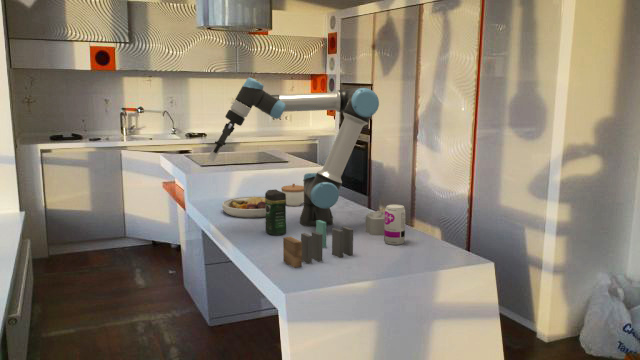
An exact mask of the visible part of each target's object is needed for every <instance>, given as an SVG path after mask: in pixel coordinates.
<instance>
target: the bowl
mask: <svg viewBox="0 0 640 360" xmlns="http://www.w3.org/2000/svg"><path fill="white" fill-rule="evenodd" d="M221 205H222V210H223V211H224V213H226V214H227V215H229V216H232V217H234V218H235V217H236V218H243V219H245V218H246V219H259V218H266V203H265V196H255V195H254V196H243V197H242V196H241V197H240V196H239V197H236V198H235V197H234V198H230V199H226V200H223V202H222V203H221Z"/></svg>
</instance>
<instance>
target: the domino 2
mask: <svg viewBox="0 0 640 360" xmlns="http://www.w3.org/2000/svg"><path fill="white" fill-rule="evenodd" d="M315 231H316V232H318V233H321V234H323V246H322V249H325V248H327V226H326V222H324V221H321V220H316V227H315Z"/></svg>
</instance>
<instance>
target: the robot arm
mask: <svg viewBox="0 0 640 360" xmlns="http://www.w3.org/2000/svg"><path fill="white" fill-rule="evenodd" d="M264 87H265V86H264V84H263V83H261V82H260V81H258V80H256V79H255V78H252V77H247V78H246V80H245V82H244V84H243V85H242V87H241V88H240V90H239V92H238V93H237V95H236V96H235V98H234V100H233V101H232V100H231V105H230V109H228V111H227V113H226V114H225V116H224V117H225V118H226V119H227V120H228V123H225V125H224V128H223V129H222V131H221V132H222V133H221V135H220V136H219V138H218V140H217V141H216V140H215V141H214V146H213V147H212V150H211V151H210V153H209V155H208V156H207V159H209V160H210V161H211V162H214V161H215V160H216V158H217V157H218V155H219V153H220V151H221V150H222V149H223V146H226V140H227V139H228V137H230V136H231V135H232V133H233V131H234V130H235V125H237V126H240V127H241V126H242V125H243V124H244V122H245V120H246V119H245V118H247V117H248V115H249V114H250V112H251V109H252V107H254V108H256V109H259V110H260V111H261V112H263V113H264V114H266V115H268V116H269V117H271V118H273V119H275V120H278V119H279V118H281V116H282V115H283V113H285V112H287V113H288V112H309V111H310V112H312V111H336V112H337V113H342V115H343V118H344V119H343V121H342V123H341V126H340V127H339V130H338V131H337V135H336V137H335V140H334V141H333V144H332V146H331V148H330V151H329V153H328V156H327V158H326V160H325V162H324V165H323V167H322V169H321V170H318V171H317V172H310V173H309V172H308V173H307V172H306V173H305V174H304V175H303V180H302V181H303V186H304V201H303V207H302V210H301V214H300V217H299V223H300V224H301V225H302V226H307V227H315V228H316V220H321V221H324V222H326V227H327V226H331V225H332V224H334V217H333V214H332V211H331V208H332V207H333V206H335V205H336V204H337V202H338V200H339V197H340V192H339V191H340V188H341V187H342V184H343V181H342V176H343V173H344V170H345V168H346V166H347V164H348V161H349V159H350V157H351V155H352V152H353V150H354V147H355V145H356V143H357V141H358V139H359V136H360V134H361V132H362V130H363V127H364V126H367V125H368V124H369V123H370V119H371V118H372V116H373V115H375V114H376V112H377V111H378V110H379V106H380V99H379V97H378V95H377V94H376V92H374V91H373V90H372V89H370V88H367V87H353V88H347V89H336V90H335V91H334V92H319V93H318V92H316V93H315V92H314V93H313V92H312V93H288V94H286V93H285V94H270V93H268V92H267V91H265V90H264Z"/></svg>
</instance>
